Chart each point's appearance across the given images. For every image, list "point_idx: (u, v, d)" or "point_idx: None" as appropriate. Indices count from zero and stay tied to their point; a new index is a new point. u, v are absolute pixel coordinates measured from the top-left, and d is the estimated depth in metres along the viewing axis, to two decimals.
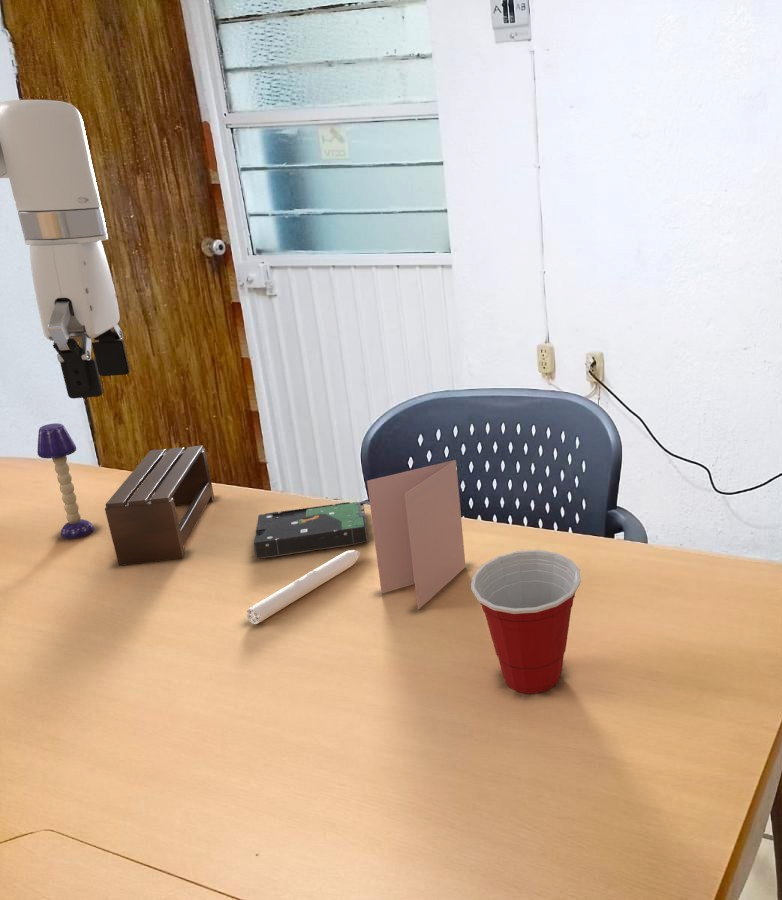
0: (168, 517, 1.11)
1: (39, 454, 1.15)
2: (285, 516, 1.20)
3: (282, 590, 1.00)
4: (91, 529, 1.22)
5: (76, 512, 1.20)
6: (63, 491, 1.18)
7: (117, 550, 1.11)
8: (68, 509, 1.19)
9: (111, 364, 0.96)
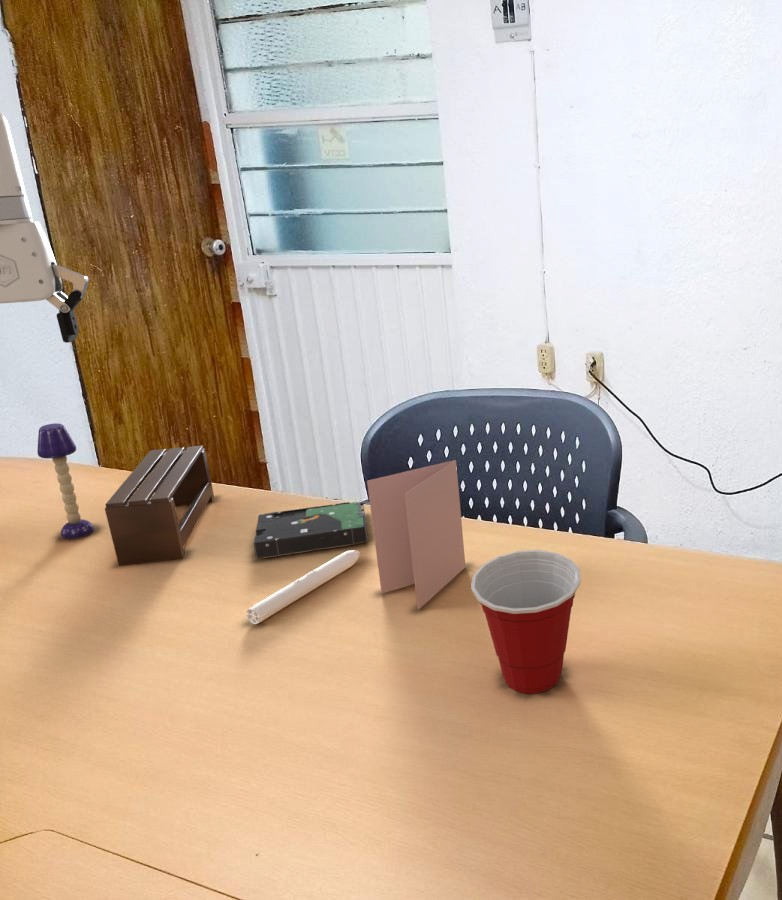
0: (168, 517, 1.11)
1: (39, 454, 1.15)
2: (285, 516, 1.20)
3: (282, 590, 1.00)
4: (91, 529, 1.22)
5: (76, 512, 1.20)
6: (63, 491, 1.18)
7: (117, 550, 1.11)
8: (68, 509, 1.19)
9: None
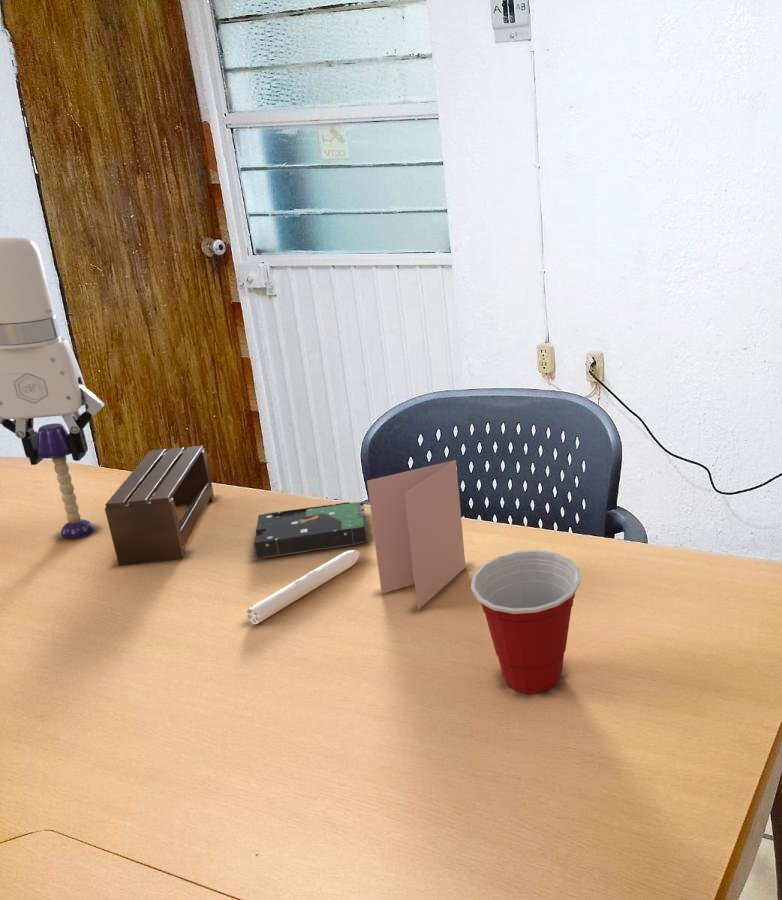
0: (168, 517, 1.11)
1: (39, 454, 1.15)
2: (285, 516, 1.20)
3: (282, 590, 1.00)
4: (91, 529, 1.22)
5: (76, 512, 1.20)
6: (63, 491, 1.18)
7: (117, 550, 1.11)
8: (68, 509, 1.19)
9: None
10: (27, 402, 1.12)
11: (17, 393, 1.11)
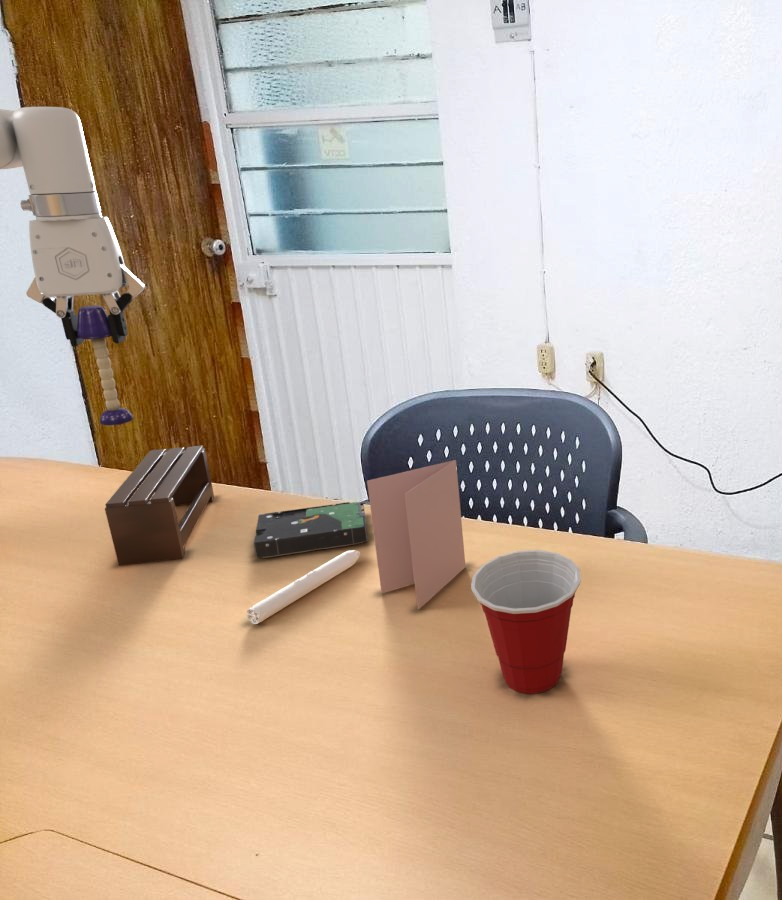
0: (168, 517, 1.11)
1: (79, 335, 1.14)
2: (285, 516, 1.20)
3: (282, 590, 1.00)
4: (130, 417, 1.20)
5: (115, 399, 1.19)
6: (102, 376, 1.17)
7: (117, 550, 1.11)
8: (107, 394, 1.18)
9: None
10: (68, 278, 1.10)
11: (58, 268, 1.09)
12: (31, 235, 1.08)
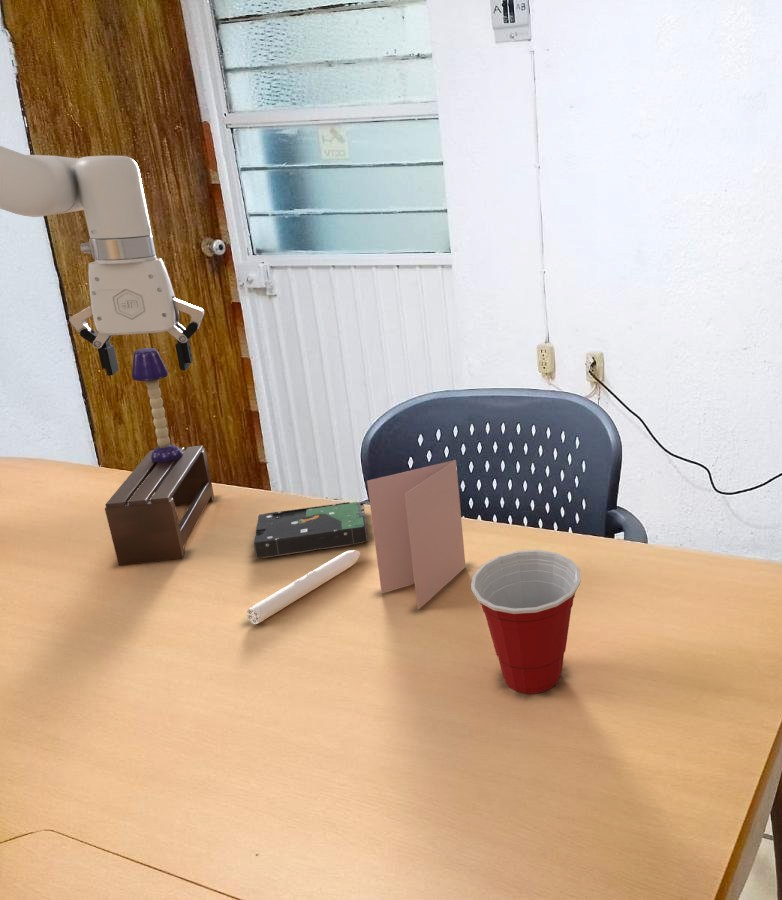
0: (168, 517, 1.11)
1: (134, 377, 1.18)
2: (285, 516, 1.20)
3: (282, 590, 1.00)
4: (180, 454, 1.25)
5: (166, 436, 1.24)
6: (155, 415, 1.22)
7: (117, 550, 1.11)
8: (159, 433, 1.23)
9: (114, 364, 1.19)
10: (125, 318, 1.15)
11: (116, 309, 1.14)
12: (90, 277, 1.12)
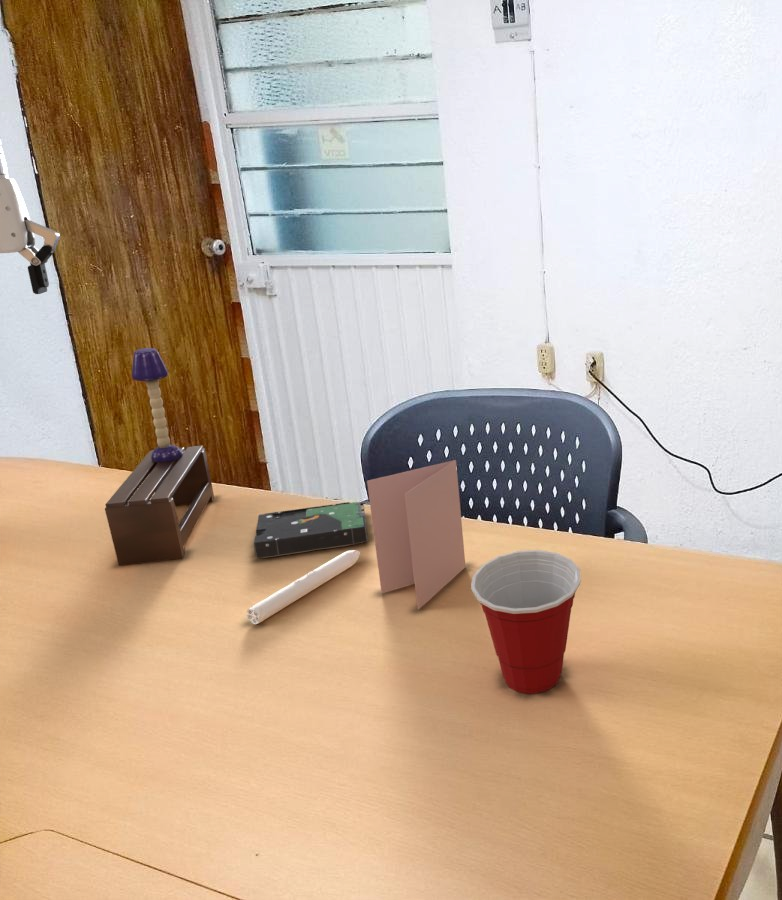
0: (168, 517, 1.11)
1: (134, 377, 1.18)
2: (285, 516, 1.20)
3: (282, 590, 1.00)
4: (180, 454, 1.25)
5: (166, 436, 1.24)
6: (155, 415, 1.22)
7: (117, 550, 1.11)
8: (159, 433, 1.23)
9: None
10: None
11: None
12: None
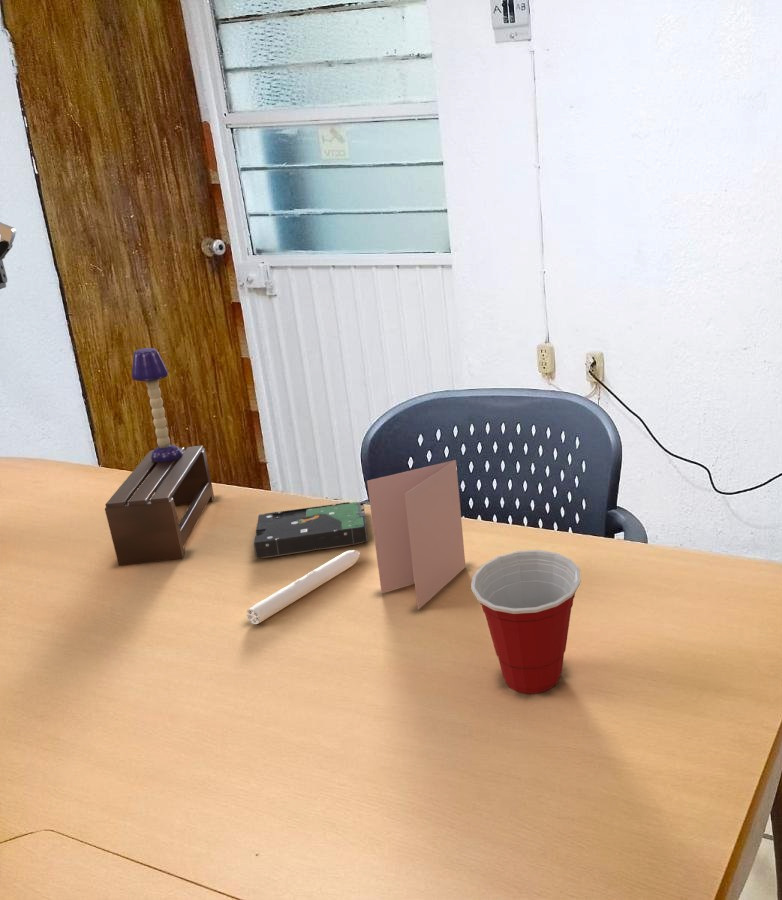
0: (168, 517, 1.11)
1: (134, 377, 1.18)
2: (285, 516, 1.20)
3: (282, 590, 1.00)
4: (180, 454, 1.25)
5: (166, 436, 1.24)
6: (155, 415, 1.22)
7: (117, 550, 1.11)
8: (159, 433, 1.23)
9: None
10: None
11: None
12: None
